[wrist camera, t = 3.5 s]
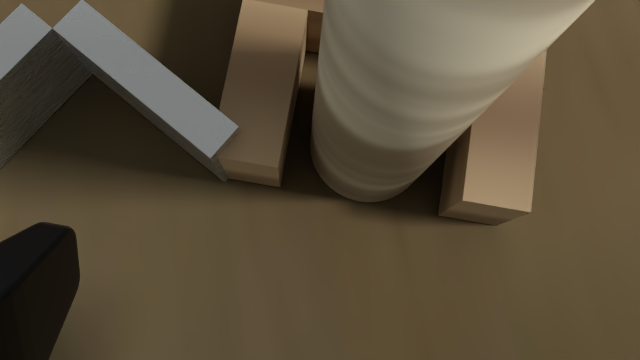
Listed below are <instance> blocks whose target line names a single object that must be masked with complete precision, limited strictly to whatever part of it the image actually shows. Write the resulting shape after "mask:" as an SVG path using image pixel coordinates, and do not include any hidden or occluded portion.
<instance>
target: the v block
mask: <svg viewBox="0 0 640 360" xmlns="http://www.w3.org/2000/svg"><path fill="white" fill-rule="evenodd" d="M58 35H59V36H60V37H59V36H58ZM65 43H66V44H67V45H68V46H67V45H66V44H65ZM72 51H73V52H74V53H75V54H74V53H73V52H72ZM80 60H81V61H82V62H81V61H80ZM87 68H88V69H89V70H90V71H89V70H88V69H87ZM92 74H93V75H94V76H96V77H97V78H98V79H99V80H100V81H102V82H103V83H104V84H105V85H107V86H108V87H109V88H110V89H111V90H113V91H114V92H115V93H116V94H117V95H119V96H120V97H121V98H122V99H123V100H125V101H126V102H127V103H128V104H130V105H131V106H132V107H133V108H134V109H136V110H137V111H138V112H139V113H140V114H142V115H143V116H144V117H145V118H146V119H148V120H149V121H150V122H151V123H153V124H154V125H155V126H156V127H157V128H159V129H160V130H161V131H162V132H163V133H165V134H166V135H167V136H168V137H170V138H171V139H172V140H173V141H174V142H176V143H177V144H178V145H179V146H180V147H182V148H183V149H184V150H185V151H186V152H188V153H189V154H190V155H191V156H193V157H194V158H195V159H196V160H197V161H199V162H200V163H201V164H202V165H203V166H205V167H206V168H207V169H208V170H209V171H211V172H212V173H213V174H214V175H216V176H217V177H218V178H219V179H220V180H222V181H223V182H224V183H225V182H226V181H227V180H228V179H229V178H228V176H227V174H226V172H225V170H224V168H223V167H222V165H221V163H220V161H219V159H218V156H219V155H220V154H221V153H222V151H223V150H224V149H225V148H226V147H227V146H228V145H229V144H230V142H231V141H232V140H233V139H234V138H235V137H236V136H237V135H238V133H239V132H240V129H239V126H237V125H236V124H235V123H234V122H233V121H231V120H230V119H229V118H228V117H226V116H225V115H224V114H223V113H221V112H220V111H219V110H218V109H217V108H215V107H214V106H213V105H212V104H210V103H209V102H208V101H207V100H205V99H204V98H203V97H202V96H200V95H199V94H198V93H197V92H196V91H194V90H193V89H192V88H191V87H189V86H188V85H187V84H186V83H184V82H183V81H182V80H181V79H180V78H178V77H177V76H176V75H175V74H173V73H172V72H171V71H170V70H168V69H167V68H166V67H165V66H164V65H162V64H161V63H160V62H159V61H157V60H156V59H155V58H154V57H152V56H151V55H150V54H149V53H147V52H146V51H145V50H144V49H143V48H141V47H140V46H139V45H138V44H136V43H135V42H134V41H133V40H131V39H130V38H129V37H128V36H127V35H125V34H124V33H123V32H122V31H120V30H119V29H118V28H117V27H115V26H114V25H113V24H112V23H111V22H109V21H108V20H107V19H106V18H104V17H103V16H102V15H101V14H99V13H98V12H97V11H96V10H95V9H93V8H92V7H91V6H90V5H88V4H87V3H86V2H85V1H83V0H81V1H80V2H79V3H78V4H77V5H76V6H75V7H74V8H72V9H71V10H70V11H69V12H68V13H67V14H66V15H65V16H64V17H63V18H62V19H61V20H60V21H59V22H58V23H57V24H56V25H55V26H54V27H53V29H52V28H51V27H50V26H49V25H47V24H46V23H45V22H44V21H43V20H41V19H40V18H39V17H38V16H36V15H35V14H34V13H33V12H32V11H30V10H29V9H28V8H27V7H26V6H24V5H23V4H21V5H20V6H19V7H18V8H17V9H15V10H14V11H13V12H12V13H11V14H10V15H9V16H8V17H7V18H6V19H5V20H4V21H3V22H2V23H1V24H0V168H1V167H2V166H3V165H4V164H5V163H6V162H7V161H8V160H9V159H10V158H11V157H12V156H13V155H14V154H15V153H16V152H17V151H18V150H19V149H20V148H21V147H22V146H23V145H24V144H25V143H26V142H27V141H28V140H29V139H30V138H31V137H32V136H33V135H34V133H35V132H36V131H37V130H38V129H39V128H40V127H41V126H42V125H43V124H44V123H45V122H46V121H47V120H48V119H49V118H50V117H51V116H52V115H53V114H54V113H55V112H56V111H57V110H58V109H59V108H60V107H61V106H62V105H63V104H64V103H65V102H66V101H67V100H68V99H69V98H70V96H71V95H72V94H73V93H74V92H75V91H76V90H77V89H78V88H79V87H80V86H81V85H82V84H83V83H84V82H85V81H86V80H87V79H88V78H89V77H90V76H91V75H92Z"/></svg>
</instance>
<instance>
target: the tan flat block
mask: <svg viewBox="0 0 640 360" xmlns="http://www.w3.org/2000/svg"><path fill="white" fill-rule="evenodd" d="M323 9H324V0H243V1H242V6H241V10H240V15H239V19H238V24H237V29H236V33H235V38H234V43H233V47H232V52H231V56H230V61H229V66H228V70H227V75H226V80H225V84H224V89H223V93H222V98H221V103H220V107H219V111H220V112H221V113H223V114H224V115H225V116H226V117H228V118H229V119H230V120H231V121H233V122H234V123H235V124H236V125H237V126H239V129H240V132H239V133H238V135H237V136H236V137H235V138H234V139H233V140H232V141H231V142H230V144H229V145H228V146H227V147H226V148H225V149H224V150H223V151H222V153H221V154H220V155H219V156H218V159H219V161H220V163H221V165H222V167H223V168H224V170H225V172H226V174H227V176H228V178H229V179H235V180H241V181H246V182H252V183H258V184H263V185H269V186H275V187H280V185H281V180H282V174H283V169H284V164H285V159H286V153H287V148H288V143H289V137H290V132H291V127H292V121H293V116H294V111H295V106H296V100H297V95H298V90H299V84H300V79H301V74H302V68H303V63H304V58H305V53H306V51H310V52H316V53H319V48H320V38H321V29H322V19H323ZM546 53H547V49H546V50H545V51H544V52H543V53H542V54H541V55H540V56H539V57H538V58H537V59H536V60H535V61H534V62H533V63H532V64H531V65H530V66H529V67H528V68H527V69H526V70H525V71H524V72H523V73H522V74H521V75H520V76H519V77H518V78H517V79H516V80H515V81H514V82H513V83H512V84H511V85H510V86H509V87H508V88H507V89H506V90H505V91H504V92H503V93H502V94H501V95H500V96H499V97H498V98H497V99H496V100H495V101H494V102H493V103H492V104H491V105H490V106H489V107H488V108H487V109H486V110H485V111H484V112H483V113H482V114H481V115H480V116H479V117H478V118H477V119H476V120H475V121H474V122H473V123H472V124H471V125H470V126H469V127H468V128H467V129H466V130H465V131H464V132H463V133H462V134H461V135H460V136H459V137H458V138H457V139H456V140H455V141H454V142H453V143H452V144H451V145H450V146H449V147H448V148H447V150H446V157H445V165H444V172H443V180H442V188H441V195H440V203H439V211H438V215H439V216H445V217H450V218H456V219H462V220H467V221H473V222H479V223H484V224H490V225H499V224H502V223H504V222H507V221H510V220H512V219H515V218H517V217H520V216H523V215H525V214H528V213H531V205H532V195H533V185H534V175H535V165H536V155H537V144H538V134H539V124H540V114H541V104H542V94H543V84H544V73H545V63H546Z"/></svg>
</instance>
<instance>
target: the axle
mask: <svg viewBox="0 0 640 360" xmlns="http://www.w3.org/2000/svg"><path fill="white" fill-rule="evenodd" d="M594 1H595V0H324V9H323V19H322V29H321V38H320V48H319V58H318V68H317V77H316V87H315V97H314V106H313V116H312V126H311V136H310V152H311V157H312V161H313V164H314V166H315V169H316V171H317V172H318V174H319V176H320V177H321V178H322V180H323V181H324V182H325V183H326V184H327V185H328V186H329V187H330V188H331V189H332V190H334V191H335V192H337V193H338V194H340V195H342V196H344V197H346V198H348V199H352V200H355V201H360V202H379V201H384V200H387V199H390V198H393V197H395V196H397V195H399V194H400V193H402V192H403V191H404V190H406V189H407V188H408V187H409V186H410V185H411V184H412V183H413V182H414V181H415V180H416V179H417V178H418V177H419V176H420V175H421V174H422V173H423V172H424V171H425V170H426V169H427V168H428V167H429V166H430V165H431V164H432V163H433V162H434V161H435V160H436V159H437V158H438V157H439V156H440V155H441V154H442V153H443V152H444V151H445V150H446V149H447V148H448V147H449V146H450V145H451V144H452V143H453V142H454V141H455V140H456V139H457V138H458V137H459V136H460V135H461V134H462V133H463V132H464V131H465V130H466V129H467V128H468V127H469V126H470V125H471V124H472V123H473V122H474V121H475V120H476V119H477V118H478V117H479V116H480V115H481V114H482V113H483V112H484V111H485V110H486V109H487V108H488V107H489V106H490V105H491V104H492V103H493V102H494V101H495V100H496V99H497V98H498V97H499V96H500V95H501V94H502V93H503V92H504V91H505V90H506V89H507V88H508V87H509V86H510V85H511V84H512V83H513V82H514V81H515V80H516V79H517V78H518V77H519V76H520V75H521V74H522V73H523V72H524V71H525V70H526V69H527V68H528V67H529V66H530V65H531V64H532V63H533V62H534V61H535V60H536V59H537V58H538V57H539V56H540V55H541V54H542V53H543V52H544V51H545V50H546V49H547V48H548V47H549V46H550V45H551V44H552V43H553V42H554V41H555V40H556V39H557V38H558V37H559V36H560V35H561V34H562V33H563V32H564V31H565V30H566V29H567V28H568V27H569V26H570V25H571V24H572V23H573V22H574V21H575V20H576V19H577V18H578V17H579V16H580V15H581V14H582V13H583V12H584V11H585V10H586V9H587V8H588V7H589V6H590V5H591V4H592V3H593V2H594Z"/></svg>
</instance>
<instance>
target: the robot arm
mask: <svg viewBox="0 0 640 360" xmlns="http://www.w3.org/2000/svg"><path fill="white" fill-rule="evenodd" d="M79 281H80V269H79V260H78V250H77V240H76V234H75V232H74V230H73V229H72V228H71V227H69V226H64V225H59V224H53V223H47V222H40V223H37V224H35V225H32V226H31V227H29V228H27V229H25V230H23V231H21V232H19V233H17V234H15V235H13V236H11V237H9V238H7V239H5V240H3V241H2V242H0V360H49V357H50V355H51V352H52V350H53V348H54V345H55V343H56V340H57V338H58V336H59V333H60V331H61V328H62V326H63V324H64V321H65V319H66V316H67V314H68V312H69V309H70V307H71V304H72V302H73V300H74V297H75V295H76V292H77V289H78V286H79Z"/></svg>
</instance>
